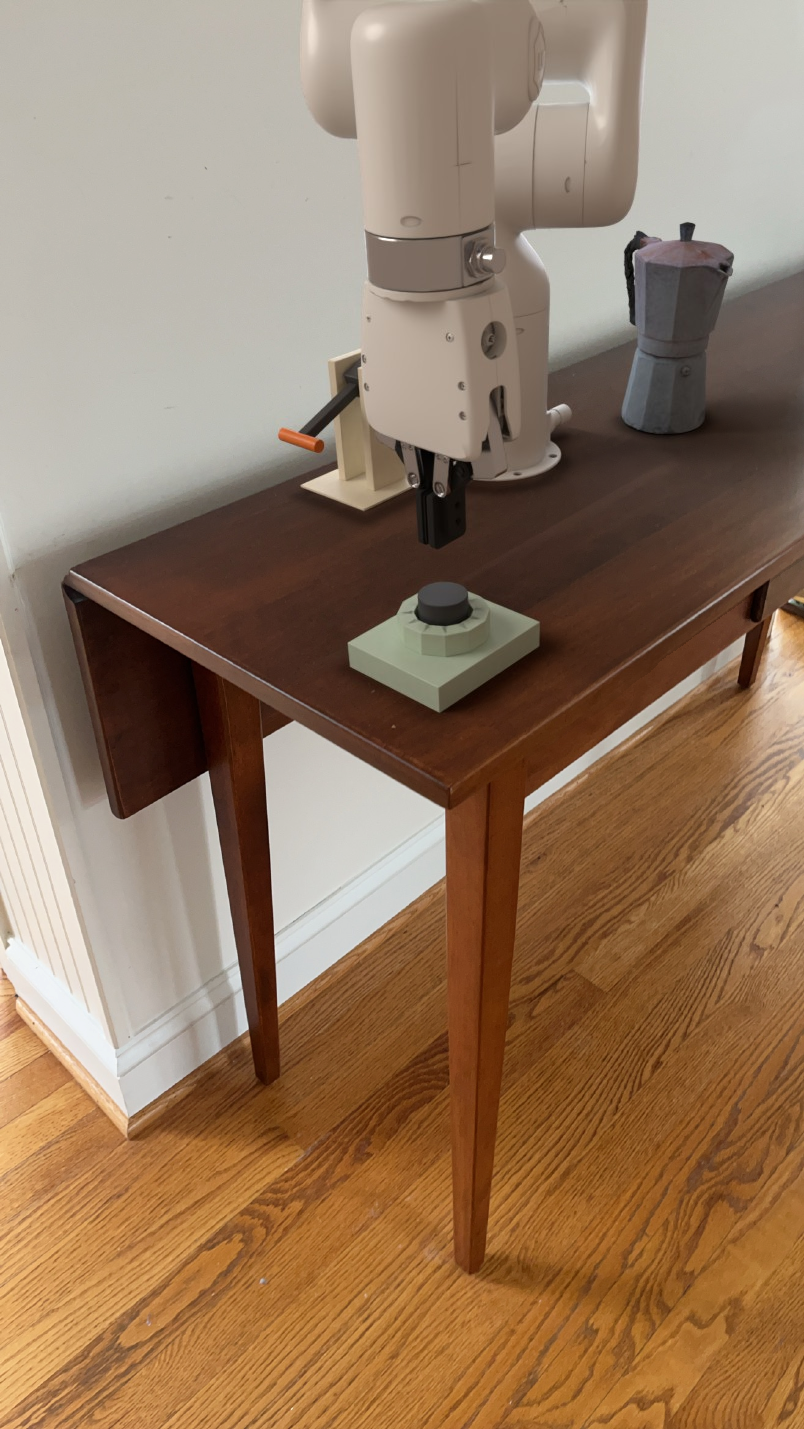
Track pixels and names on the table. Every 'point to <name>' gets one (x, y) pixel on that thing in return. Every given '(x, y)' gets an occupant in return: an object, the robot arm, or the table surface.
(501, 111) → the robot arm
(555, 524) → the table surface
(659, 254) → the moka pot
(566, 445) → the table surface
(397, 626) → the socket block
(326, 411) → the orange grip lever
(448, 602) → the socket button
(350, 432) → the pivot handle stand
